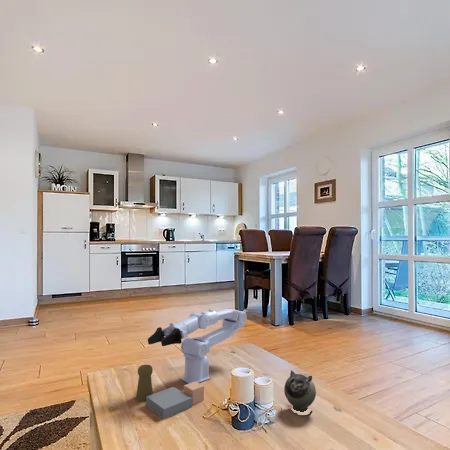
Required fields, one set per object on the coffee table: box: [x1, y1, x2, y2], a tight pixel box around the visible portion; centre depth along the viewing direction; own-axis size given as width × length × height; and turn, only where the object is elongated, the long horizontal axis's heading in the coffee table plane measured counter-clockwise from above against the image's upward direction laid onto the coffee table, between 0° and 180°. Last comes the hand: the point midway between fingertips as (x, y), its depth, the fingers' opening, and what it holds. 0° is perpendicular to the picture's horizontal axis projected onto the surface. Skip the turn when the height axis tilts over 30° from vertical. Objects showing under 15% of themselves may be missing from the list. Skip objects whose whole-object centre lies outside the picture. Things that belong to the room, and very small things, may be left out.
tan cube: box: [183, 381, 205, 406], centre depth 114 cm, size 5×5×5 cm
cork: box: [135, 364, 154, 402], centre depth 115 cm, size 6×6×11 cm
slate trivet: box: [145, 386, 193, 420], centre depth 109 cm, size 11×11×3 cm
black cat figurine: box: [283, 369, 317, 412], centre depth 108 cm, size 10×12×10 cm
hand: (155, 342), depth 115 cm, fingers open, 7 cm apart
